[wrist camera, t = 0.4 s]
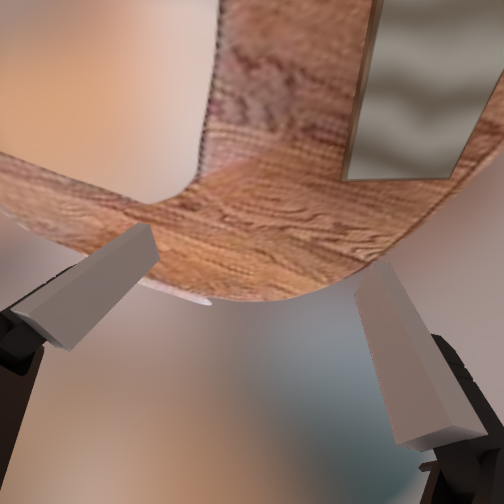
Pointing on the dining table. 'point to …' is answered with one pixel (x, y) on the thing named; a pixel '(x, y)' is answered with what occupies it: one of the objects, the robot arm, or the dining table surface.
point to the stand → (422, 87)
